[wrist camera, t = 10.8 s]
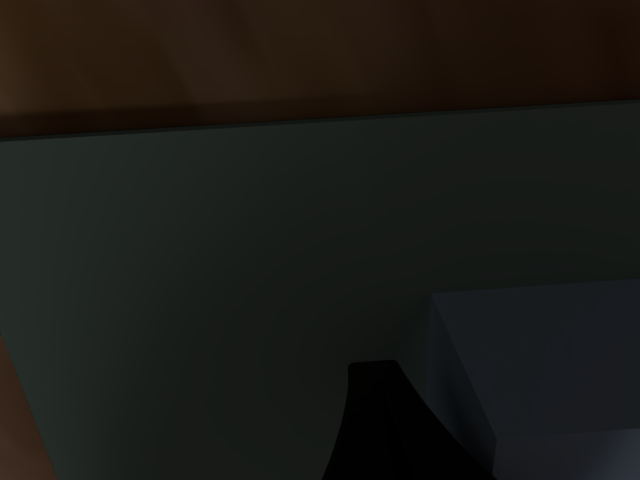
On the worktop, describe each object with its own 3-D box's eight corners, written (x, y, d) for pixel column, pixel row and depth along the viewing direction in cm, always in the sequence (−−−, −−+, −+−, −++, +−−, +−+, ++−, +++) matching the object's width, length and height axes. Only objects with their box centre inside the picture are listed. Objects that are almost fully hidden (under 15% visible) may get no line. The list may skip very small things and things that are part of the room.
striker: (621, 391, 16) (753, 553, 11) (425, 406, 16) (479, 575, 11) (651, 277, 14) (821, 413, 9) (430, 293, 14) (496, 439, 9)
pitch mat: (828, 460, 18) (839, 469, 18) (81, 516, 18) (76, 527, 17) (1033, 75, 12) (1055, 78, 12) (-62, 141, 12) (-72, 146, 12)
